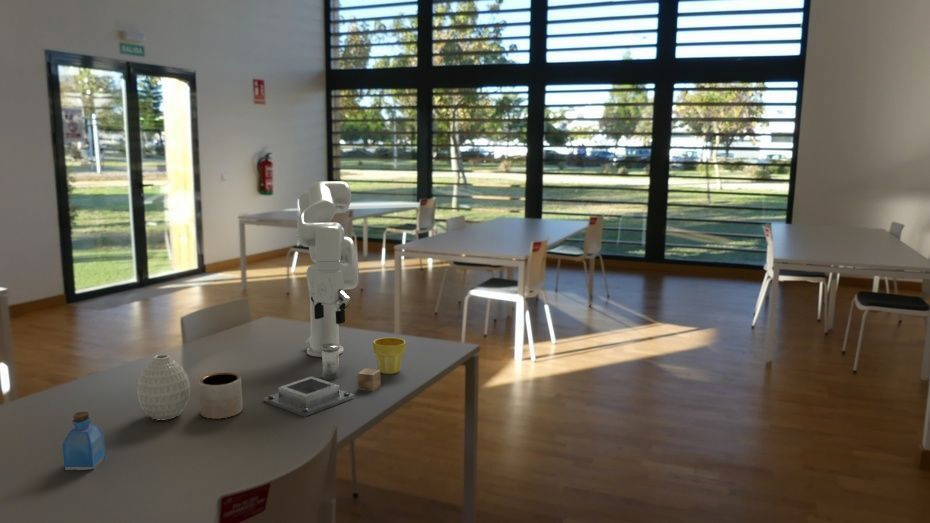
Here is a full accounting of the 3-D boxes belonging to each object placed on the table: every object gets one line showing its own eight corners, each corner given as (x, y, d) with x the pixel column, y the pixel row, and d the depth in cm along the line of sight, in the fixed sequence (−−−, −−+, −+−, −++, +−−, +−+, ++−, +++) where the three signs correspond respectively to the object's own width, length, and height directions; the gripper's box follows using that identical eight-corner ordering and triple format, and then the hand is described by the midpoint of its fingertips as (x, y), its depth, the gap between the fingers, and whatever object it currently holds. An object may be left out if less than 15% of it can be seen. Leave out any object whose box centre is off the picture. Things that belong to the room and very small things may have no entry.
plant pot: (408, 366, 228) (408, 337, 227) (402, 376, 218) (402, 346, 217) (377, 364, 229) (377, 336, 228) (370, 375, 219) (369, 345, 218)
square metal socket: (263, 401, 196) (262, 387, 196) (313, 384, 211) (312, 371, 210) (304, 416, 186) (304, 402, 185) (354, 397, 200) (354, 384, 199)
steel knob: (317, 377, 217) (316, 346, 215) (331, 372, 221) (331, 342, 220) (330, 381, 213) (329, 349, 212) (344, 376, 218) (343, 345, 216)
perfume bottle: (77, 458, 160) (73, 409, 158) (105, 457, 161) (101, 408, 159) (64, 471, 154) (59, 420, 152) (93, 470, 155) (89, 419, 153)
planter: (251, 408, 192) (249, 374, 190) (225, 422, 182) (223, 387, 180) (218, 402, 195) (216, 370, 193) (191, 417, 185) (189, 382, 183)
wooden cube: (358, 389, 207) (357, 373, 206) (365, 383, 212) (365, 368, 211) (373, 391, 205) (373, 375, 205) (380, 385, 210) (380, 370, 209)
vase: (166, 429, 177) (162, 366, 174) (128, 421, 181) (123, 360, 179) (202, 411, 189) (198, 352, 186) (164, 404, 193) (160, 346, 190)
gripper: (300, 264, 214) (301, 318, 216) (338, 270, 203) (339, 327, 206) (319, 261, 219) (320, 314, 222) (357, 267, 209) (358, 322, 212)
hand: (329, 320), depth 214 cm, fingers open, 9 cm apart
